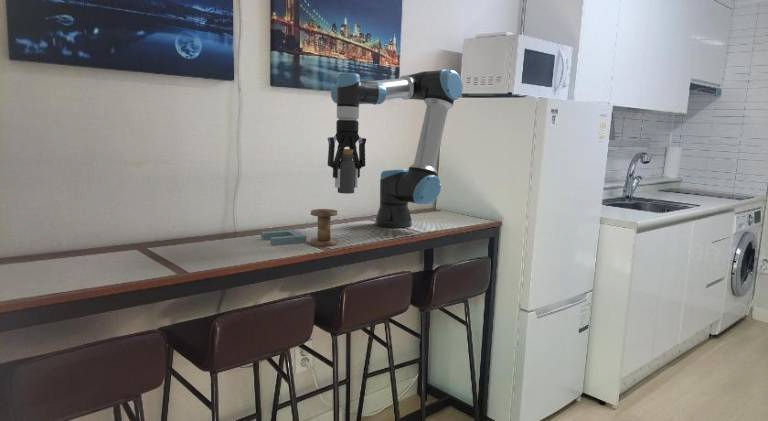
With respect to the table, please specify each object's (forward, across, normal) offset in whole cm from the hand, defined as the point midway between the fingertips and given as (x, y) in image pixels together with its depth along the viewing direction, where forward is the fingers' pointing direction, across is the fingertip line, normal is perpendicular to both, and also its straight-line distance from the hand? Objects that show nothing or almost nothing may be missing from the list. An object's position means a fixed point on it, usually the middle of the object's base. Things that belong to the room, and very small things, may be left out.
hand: (346, 187), depth 188 cm
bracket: (+20, +19, -10) cm, 29 cm away
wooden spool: (+19, +8, 0) cm, 21 cm away
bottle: (+2, 0, 0) cm, 2 cm away
